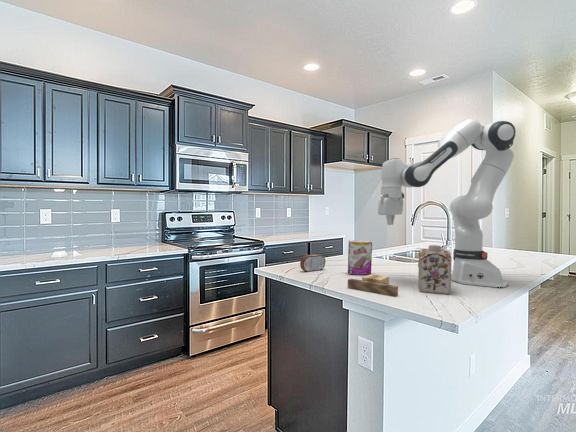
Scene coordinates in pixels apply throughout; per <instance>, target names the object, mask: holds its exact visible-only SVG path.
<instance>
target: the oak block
mask: <svg viewBox="0 0 576 432" xmlns="http://www.w3.org/2000/svg"><path fill="white" fill-rule="evenodd" d="M361 280H363V281H370V282H376V283H382V284H388V285H390V277H389V276H386V275H378V274H372V273H371V274H370V275H363V276H362V278H361Z"/></svg>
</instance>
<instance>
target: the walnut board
mask: <svg viewBox="0 0 576 432" xmlns="http://www.w3.org/2000/svg"><path fill="white" fill-rule="evenodd" d="M347 289H352V290H357V291H362V292H363V291H364V292H367V293H373V294H379V295H384V296H388V297H389V296H390V297H395V298H396V297H398V295H399V286H398V285H393V284H389V285H388V284H382V283H376V282H370V281H363V280H362V279H358V278H357V279H356V278H348V279H347Z"/></svg>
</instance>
